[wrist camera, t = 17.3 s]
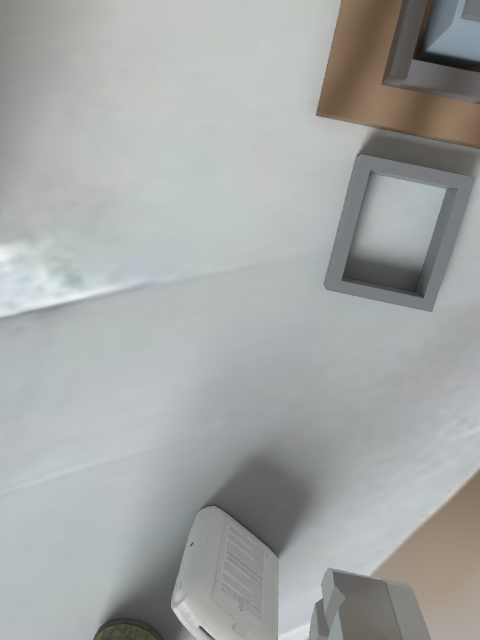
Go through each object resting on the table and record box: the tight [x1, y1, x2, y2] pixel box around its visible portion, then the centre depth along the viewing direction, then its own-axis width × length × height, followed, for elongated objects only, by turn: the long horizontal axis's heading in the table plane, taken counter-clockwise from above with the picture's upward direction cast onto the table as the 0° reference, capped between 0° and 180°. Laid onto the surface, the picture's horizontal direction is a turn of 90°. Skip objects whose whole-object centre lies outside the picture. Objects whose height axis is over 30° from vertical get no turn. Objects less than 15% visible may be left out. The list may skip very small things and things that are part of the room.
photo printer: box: [171, 506, 279, 640], centre depth 43 cm, size 10×4×12 cm, turn 49°
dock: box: [316, 0, 480, 149], centre depth 33 cm, size 17×16×4 cm
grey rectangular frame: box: [324, 154, 475, 312], centre depth 38 cm, size 9×11×2 cm
